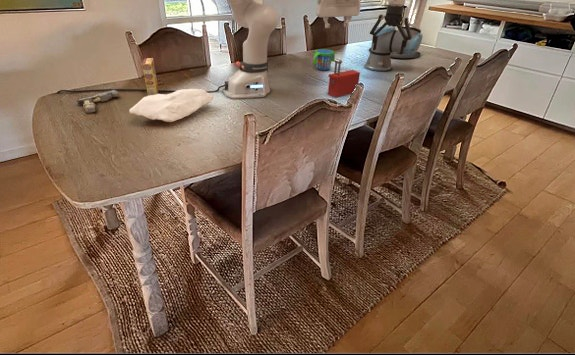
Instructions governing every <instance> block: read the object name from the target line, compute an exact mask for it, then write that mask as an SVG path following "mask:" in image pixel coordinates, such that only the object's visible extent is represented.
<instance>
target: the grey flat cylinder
mask: <svg viewBox="0 0 575 355" xmlns="http://www.w3.org/2000/svg"><path fill="white" fill-rule="evenodd" d="M368 51H369V52H371V47H370V48H368ZM420 56H421V52H419V51H417V52H416V53H415V54H413V55H408V54H407V55H406V54H402V55H400V53H396V52H391V54H390V58H396V59H413V58H418V57H420Z"/></svg>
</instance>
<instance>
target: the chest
mask: <svg viewBox="0 0 575 355" xmlns="http://www.w3.org/2000/svg"><path fill="white" fill-rule="evenodd" d="M360 76H361V74H360V75H356V76H351V77H346V78H341V79H336V80H335V79H333V78H331V77H328V78H329V79H328V87H327V88H328V89H327V95H328V96H330V97H333V98H339V97H343V96H346V95H351V93H352V92H353V91H354V89H355V85H356V84H358V85H359V83H360ZM352 94H353V93H352Z"/></svg>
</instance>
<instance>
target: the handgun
mask: <svg viewBox="0 0 575 355" xmlns="http://www.w3.org/2000/svg"><path fill="white" fill-rule="evenodd" d="M119 96H120V94H119V92H118V91H115V90H112V91H103V92H101V93H96V94H94V95H86V94H85V95H84V94H83V95H81V96H80V97H77V98H76V101H77V104H78V105H82V108H83V109H84V110H85V113H87V114H91V113H95V112H96V104H95V103H98V102H106V101H109V100H111V99H113V98H117V97H119Z"/></svg>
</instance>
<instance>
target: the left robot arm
mask: <svg viewBox="0 0 575 355" xmlns="http://www.w3.org/2000/svg"><path fill="white" fill-rule="evenodd" d="M226 1H227V3H228V4H229V6H230V8H231V18H232V20H233V21H234V22H235V23H236V24H237V25H239V26H241V27H242V28H245V29H248V35H247V38H246V39H245V40H244V41H243V43H242V59H243V60H242V61H236V62H235V65H236V66H237V67H239V69H237V71H236V72H235V73H234V74H232V75H231V76H230V77H229V78H228V81H227V80H225V81H224V84H223V85H220V86H218V88H217V89H215V90H211V91H209V90H207V91H206V90H205V91H206V92H208V93H210V94H212V93H217V92H219V91H220V89H221V88H223V91H222V92H223V94H224V95H225V96H226V97H228V98H230V99H233V100H236V99H237V100H238V99H239V100H240V99H253V98H254V99H255V98H264V97H266V95H268V94H269V93H270V92H271V88H270V84H269V78H268V76H269V75H268V72H269V61H268V45H269V40H270V36H271V34H272V33H273V32H274V31H275V29H277V27H278V25H279V14H278V12H277V11H276V9H274V8H273V7H271V6H270V5H268V4H265V3H260V2H256V1H255V0H226ZM316 2H317V4H316V9H315V15H316V16H317V18H323V19H322V20H323V23H324V29H330V28H331V23H329V18H338V17H339V18H340V17H346V20H345V21H343V27H344V28H349V24H350V22H351V20H352V19H353V17H358V16H359V15H360V12H361V0H316ZM112 90H115V91H117V92H118V91H120V92H121V91H123V92H124V91H128V92H129V91H137V92H147V88H146V89H145V88H143V89H141V88H140V89H139V88H102V89H101V88H99V89H98V88H97V89H84V90H83V89H80V90H69V89H59V90H57V91H56V93H55V94H57V95H58V94H59V93H62V92H66V93H85V92H86V93H87V92H108V91H112ZM158 90H159V92H161V93H162V92H163V93H173V92H175V91H176V90H167V89H166V90H165V89H158ZM159 92H158V93H159Z"/></svg>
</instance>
